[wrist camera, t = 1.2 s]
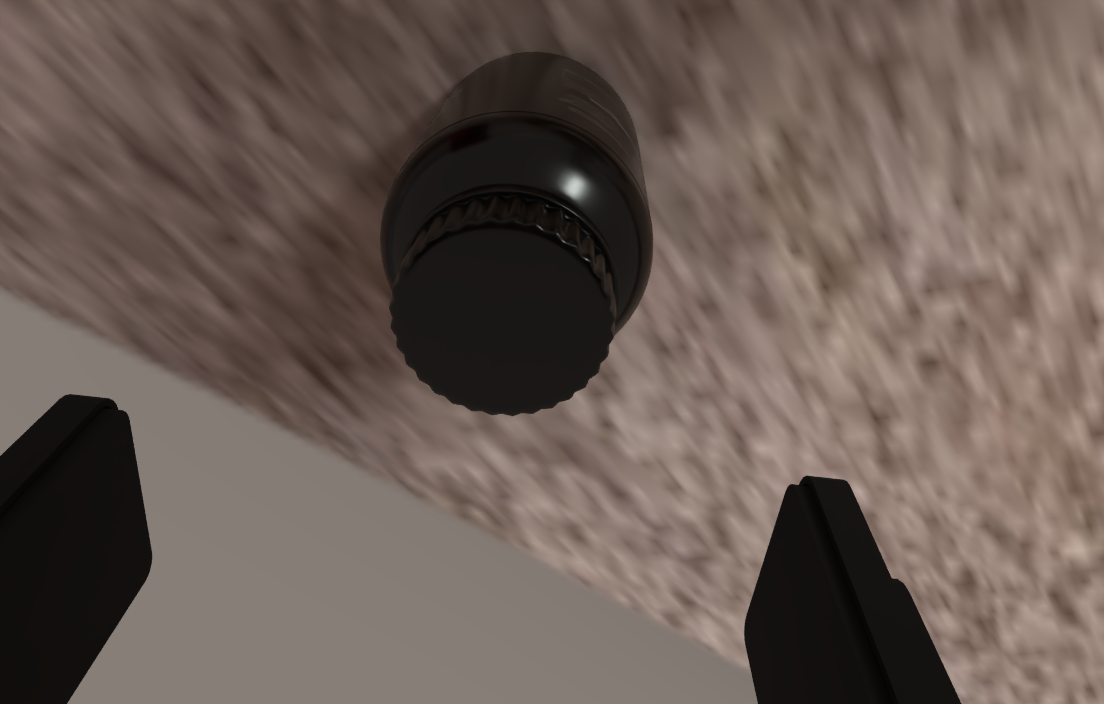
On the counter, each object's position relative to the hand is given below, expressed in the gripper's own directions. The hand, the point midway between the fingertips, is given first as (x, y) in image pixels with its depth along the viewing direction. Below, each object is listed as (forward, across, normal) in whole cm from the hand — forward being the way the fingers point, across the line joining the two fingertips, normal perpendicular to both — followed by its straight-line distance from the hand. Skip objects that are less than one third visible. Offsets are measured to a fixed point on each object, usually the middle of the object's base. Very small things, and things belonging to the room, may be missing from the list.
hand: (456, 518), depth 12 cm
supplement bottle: (+18, 0, 0) cm, 18 cm away
